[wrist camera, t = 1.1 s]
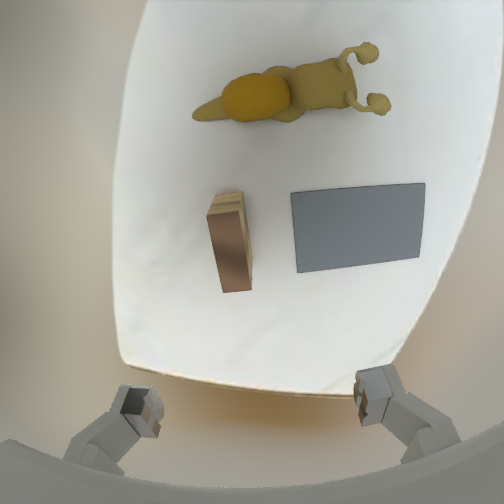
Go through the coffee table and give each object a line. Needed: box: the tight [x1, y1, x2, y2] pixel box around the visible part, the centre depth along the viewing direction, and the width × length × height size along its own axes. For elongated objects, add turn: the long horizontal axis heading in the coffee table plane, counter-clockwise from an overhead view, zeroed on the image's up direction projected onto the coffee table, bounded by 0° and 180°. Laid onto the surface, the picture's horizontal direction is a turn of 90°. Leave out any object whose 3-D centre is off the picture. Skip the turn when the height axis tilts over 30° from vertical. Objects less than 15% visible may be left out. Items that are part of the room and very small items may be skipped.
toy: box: [192, 42, 391, 122], centre depth 28 cm, size 8×21×10 cm, turn 104°
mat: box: [291, 183, 426, 273], centre depth 40 cm, size 12×20×1 cm, turn 98°
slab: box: [207, 192, 253, 293], centre depth 37 cm, size 10×4×8 cm, turn 8°
